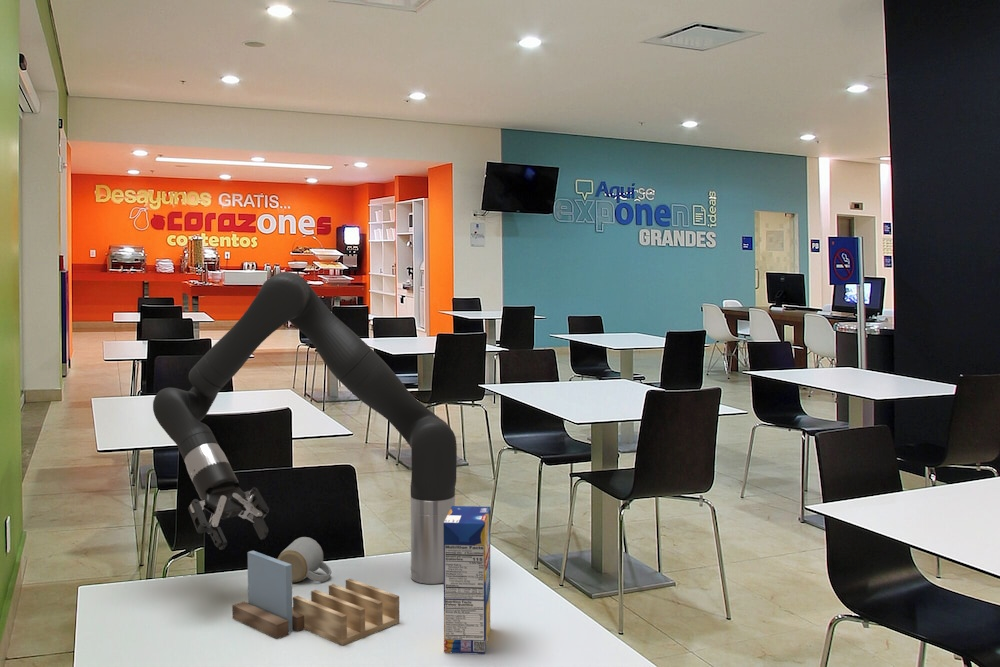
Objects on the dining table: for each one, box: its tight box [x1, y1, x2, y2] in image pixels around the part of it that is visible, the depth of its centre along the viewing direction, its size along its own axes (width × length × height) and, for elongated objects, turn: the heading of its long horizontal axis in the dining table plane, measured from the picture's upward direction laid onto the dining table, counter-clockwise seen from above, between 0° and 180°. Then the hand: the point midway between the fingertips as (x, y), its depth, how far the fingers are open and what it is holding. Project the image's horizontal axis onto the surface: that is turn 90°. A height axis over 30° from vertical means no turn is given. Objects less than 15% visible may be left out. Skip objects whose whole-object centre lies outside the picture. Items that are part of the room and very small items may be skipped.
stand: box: [231, 601, 305, 640], centre depth 156 cm, size 14×7×2 cm, turn 49°
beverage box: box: [443, 505, 491, 655], centre depth 148 cm, size 7×11×22 cm, turn 176°
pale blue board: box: [247, 550, 294, 633], centre depth 156 cm, size 12×1×12 cm, turn 49°
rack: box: [292, 578, 400, 647], centre depth 156 cm, size 14×13×5 cm
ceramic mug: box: [277, 536, 332, 584], centre depth 180 cm, size 11×8×8 cm
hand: (244, 541), depth 161 cm, fingers open, 8 cm apart
